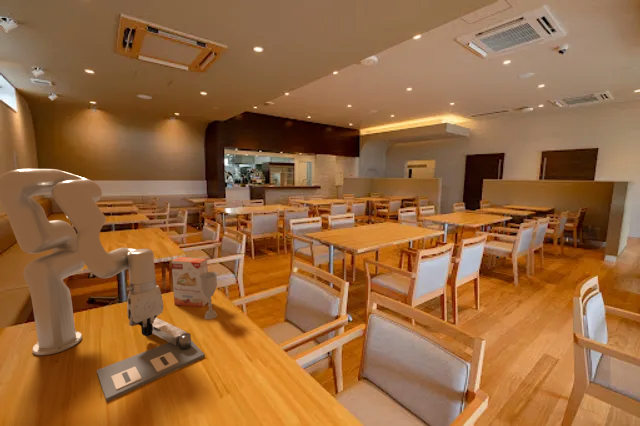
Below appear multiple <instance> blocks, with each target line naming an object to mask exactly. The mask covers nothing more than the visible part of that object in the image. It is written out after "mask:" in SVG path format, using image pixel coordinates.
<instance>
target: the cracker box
mask: <svg viewBox="0 0 640 426" xmlns="http://www.w3.org/2000/svg"><path fill="white" fill-rule="evenodd" d="M205 272H209V271H208V259H207V258H197V257H183V256H179V257H176V258H174V259H172V260H171V273H172V274H171V275H172V286H173V289H172V290H173V302H174V305H175V306H176V305H177V306H188V307H199V308H203V307H205V306H206V305H207V304H209V302H208V300H209V298H208V297H206V295H205V294H204V292H203V290H202V288H201V278H200V277H199V276H200V275H201V274H203V273H205Z"/></svg>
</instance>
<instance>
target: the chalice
mask: <svg viewBox="0 0 640 426" xmlns="http://www.w3.org/2000/svg"><path fill="white" fill-rule="evenodd" d="M217 276H218V272H216V271H208V272H205V273H203V274H201V275H200V276H199V277H200V278H201V288H202V290H203V292H204V294H205V295H206V297H208V298H209V300H208V305H207V307H208V310H207V311H206V312H205V314H204V319H205V320H214V319H215V318H217V317H218V314H217V312H216V310H215V309H213V308H212V306H213V303H212V297H213V296H214V294H215V292H216V290H217V286H218V280H217V279H218V278H217Z"/></svg>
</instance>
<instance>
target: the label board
mask: <svg viewBox="0 0 640 426" xmlns="http://www.w3.org/2000/svg"><path fill="white" fill-rule="evenodd" d="M203 358H206V357H205V353H204V352H203V350H201V348H200V347H198V345H197V344H195V342H194V341H193V340H192V339H191V347H190V348H188V349H186V350H181V349H180V347H179V345H177V346H176V345H174V344H172V343H170V342H168V341H167V342H166V343H163V344H159V345H158V346H156V347H153V348H151V349H148V350H146V351H143V352H142V351H141V352H140V353H138V354H134V355H132V356H130V357H127V358H124V359H121V360H119V361H117V362H115V363H111V364H109V365H106V366H104V367H101V368H99V369H96V375H97V378H98V381H99V383H100V387H101V389H102V393H103V395H104V399H105V402H106V403H107V402H108V403H109V401H112V400H114V399H116V398H118V397H120V396H123V395H125V394H127V393H129V392H131V391H133V390H136V389H138V388H141V387H142V386H144V385H147V384H149V383H151V382H153V381H155V380H157V379H160V378H161V377H164V376H166V375H168V374H170V373H173V372H175V371H177V370H179V369H181V368H184V367H186V366H188V365H190V364H193V363H194V362H196V361H199V360H200V359H203Z"/></svg>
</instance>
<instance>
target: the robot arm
mask: <svg viewBox="0 0 640 426" xmlns="http://www.w3.org/2000/svg"><path fill="white" fill-rule="evenodd" d="M43 195H44V196H45V195H51V196H52V198H53V200H54V201H55V202H56V204H57V205H58V207H59V208H60V209H61V211H62V212H63V213H64V215H65V216H66V218H67V219H68V220H69V222H70V223H71V224H70V223H69V222H67V221H64V220H61V219H55V220H49V219H48V217H47V215H46V212H45V211H46V210H45V209H44V207H43V206H42V205H41V204H40V203H39V201H37V200H35V198H34V196H43ZM102 195H103V192H102V189H101V186H100V185H99V184H97V182H95V181H93V180H91V179H89V178H86V177H82V176H79V175H76V174H73V173H71V172H68V171H63V170H60V169H55V168H19V169H12V170H9V171H6V172H5V173H3V174H1V175H0V206H1V207H2V209H3V211H4V212H5V213H6V216H7V218H8V222H9V224H10V227H11V229H12V231H13V234H14V236H15V239H16V242H17V244H18V246H19V248H20V249H21V250H22V251H23V252H24V253H26V254H30V255H31V254H33V255H34V254H40V253H45V252H47V251H52V252H51V253H49V254H44V255H43V256H39V257H37V258H35V259H33V260H30V262H28V263H27V264H26V265H25V266H24V269H23V272H22V273H23V279H24V281H25V284H26V285H27V288H28V291H29V294H30V299H31V303H32V310H33V318H34V323H35V330H36V337H37V343H35V344H34V345H33V347H32V353H33V354H34V355H36V356H47V355H53V354H57V353H60V352H61V353H62V352H63V351H67V350H68V349H70V348H72V347H75V345H77V344H78V343H79V342H80V341H81V340H82V338H83V335H82V333H81V332H79V331H76V328H75V327H76V326H75V325H76V324H75V318H74V311H73V310H74V309H73V301H72V295H71V291H70V288H69V286H67V284H66V283H65V282H64V279H66V278H68V277H70V276H73V275H75V274H77V273H79V272H80V271H82V270H83V268H84V267H85V266H86V268H88V270H89V271H90V272H91V273H92V274H93V275H94V276H96V277H97V278H100V279H108V278H112V277H114V276H117V275H118V274H119V273H121V272H123V271H126V270H128V278H129V279H128V280H129V284H128V285H129V286H126V288H125V289H126V292H128V295H127V305H126V307H127V309H126V310H127V311H126V313H127V318H128V320H129V321H128V326H131V327H135V326H137V325H138V326H140V330H141V335H142V336H145V337H146V338H149V337H151V336H153V333H152V331H153V325H152V324H153V323H154V320H155V318H158V317H159V316H160V315H161V314H162V313H163V311H164V300H163V296H162V292H161V288H160V286H159V285H158V284H157V279H156V269H155V265H156V264H155V255H154V251H153V250H152V249H150V248H137V249H136V248H131V247H119V248H116V249H114V250H111V251H108V252H107V251H106V250H105V248H104V246H103V245H102V243H101V239H100V233H101V230H102V228H103V226H104V225H105V223H106V222H107V217H106V215H105V214H104V213H103V212H102V210H101V208H100V207H99V205H97V202H99V200H101V198H102ZM157 316H158V317H157Z"/></svg>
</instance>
